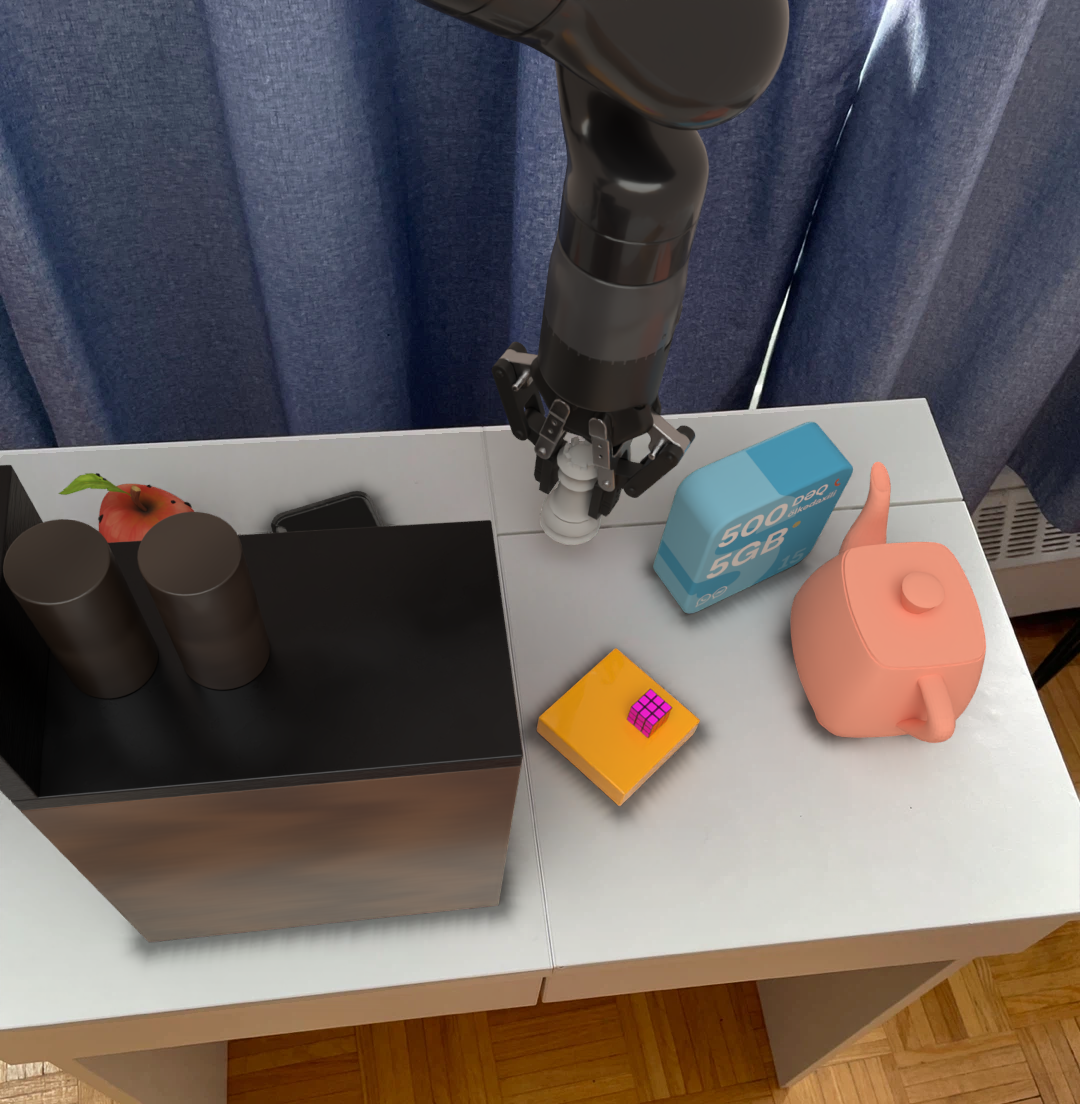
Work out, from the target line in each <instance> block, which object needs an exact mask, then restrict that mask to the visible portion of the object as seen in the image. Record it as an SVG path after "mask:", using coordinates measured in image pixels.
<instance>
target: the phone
mask: <svg viewBox="0 0 1080 1104" xmlns="http://www.w3.org/2000/svg"><path fill="white" fill-rule="evenodd" d="M270 523H271V524H270V526H271V531H272V532H271V533H279V532H296V531H313V530H329V529H346V528H363V527H380V526H385V525H384V523H383V521H382V518H381V516H380V514H379V512H378V510H377V508H376V505H375V504H374V501H373V500H372V498H371V495H369V494H367V493H366V492H364V491H362V490H352V491H349V492H345V493H341V494H339V495H336V496H333V497H329V498H326V499H322V500H319V501H315V502H312V503H309V504H305V505H301V506H299V507H295V508H292V509H289V510H285V511H281V512H280V513H277V514H276V515H275V516H274V517H273V518H272V520H271V522H270Z"/></svg>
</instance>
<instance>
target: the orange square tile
mask: <svg viewBox="0 0 1080 1104" xmlns="http://www.w3.org/2000/svg"><path fill="white" fill-rule="evenodd" d="M700 722H701V720H700V719H699V718H698V716H696V715H695V714H693V712H692V711H690V710H689V709H688V708H687V707H686V706H685V705H683V704H682V703H681V702H680V701H678V699H677V698H675V697H674V696H673V695H671V693H670V692H668V691H667V690H666V689H664V687H662V686H661V685H660V684H659V683H658V682H657V681H655V679H653V678H652V677H651V676H649V675H648V674H647V673H646V672H645V671H644V670H643V669H641V668H640V667H639V666H638V665H637V664H636V663H635V662H633V661H632V660H631V659H630V658H629V657H628V656H626V655H625V654H624V653H623V652H621V650H619V649H618V648H616V647H615V648H614V649H612V651H610V652H609V653H608V654H607V655H606V656H605V657H604V658H603V659H601V660H600V661H599V662H598V663H597V664H596V665H595V666H594V667H592V668H591V669H590V670H589V671H588V672H587V673H586V674H584V675H583V677H582V678H580V679H579V680H578V681H577V682H576V683H574V685H572V687H570V688H569V689H568V690H566V692H565V693H563V694H562V696H561V697H560V698H558V699H557V700H556V701H555V702H553V704H551V705H550V707H548V708H547V709H546V710H544V712H542V714H540V715H539V716H538V720H537V725H536V733H538V734H539V735H540V736H541V737H542V738H543V739H544V740H546V741H547V742H548V743H549V744H550V745H551V746H552V747H553V748H554V749H555V750H556V751H557V752H558V753H559V754H560V755H562V756H563V757H564V758H566V760H568V761H569V762H570V763H571V764H572V765H573V766H574V767H575V768H577V769H578V770H579V772H580V773H582V774H583V775H584V776H585V777H586V778H587V779H588V780H589V781H591V782H592V783H593V784H594V785H595V786H596V787H597V788H598V789H600V790H601V791H602V792H603V793H604V794H605V795H606V796H607V797H608V798H609V799H610V800H612V801H613V802H614V804H616V805H617V806H619V807H621V806H622V805H623V804H624V803H626V801H627V800H628V799H629V798H631V796H633V794H634V793H636V791H637V790H639V788H641V787H642V786H643V785H644V784H645V783H646V781H648V779H650V778H651V776H653V775H654V774H655V773H656V772H657V771H658V770H659V769H660V768H661V767H662V766H663V765H664V764H665V763H666V762H667V761H668V760H669V759H670V758H671V757H672V756H673V755H674V754H675V753H676V752H677V751H678V750H680V748H681V747H682V746H683V745H684V744H685V743H686V742H687V741H688V740H690V738H691V737H692V736H694V734H695V732H696V730H697V728H698V726H699V725H700Z"/></svg>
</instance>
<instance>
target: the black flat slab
mask: <svg viewBox="0 0 1080 1104" xmlns="http://www.w3.org/2000/svg"><path fill="white" fill-rule="evenodd" d="M43 522H44V521H43V519H42V517H41V516H40V514H39V512H38V510H37V509H36V507H35V504H34V503H33V501H32V499H31V497H30V496H29V494H28V492H27V490H26V488H25V487H24V485H23V483H22V482H21V480H20V478H19V476H18V473H16V470H15V469H14V467H13V465H12V464H0V792H1V793H2V795H4V796H5V797H6V798H7V799H8V801H10V803H12V804H13V806H15V807H16V809H17V810H19V811H20V810H32V809H43V808H55V807H66V806H77V805H88V804H100V803H111V802H122V801H133V800H145V799H156V798H167V797H178V796H190V795H201V794H212V793H223V792H235V791H246V790H257V789H268V788H280V787H291V786H302V785H313V784H325V783H336V782H347V781H358V780H370V779H381V778H392V777H403V776H414V775H426V774H437V773H448V772H459V771H471V770H482V769H493V768H504V767H516V766H521V767H522V764H523V757H524V751H523V745H522V738H521V729H520V723H519V722H520V721H519V715H518V714H519V713H518V707H517V700H516V699H517V698H516V693H515V691H516V690H515V686H514V677H513V671H512V670H513V669H512V662H511V656H510V648H509V640H508V633H507V625H506V617H505V610H504V603H503V596H502V589H501V581H500V574H499V565H498V558H497V551H496V544H495V535H494V530H493V529H494V528H493V521H492V520H491V519H483V520H481V519H480V520H465V521H449V522H433V523H432V522H431V523H416V524H415V523H414V524H399V525H398V524H397V525H384V526H380V527H363V528H346V529H329V530H313V531H296V532H279V533H273V532H264V533H249V534H238V537H239V539H240V542H241V545H242V549H243V552H244V556H245V559H246V563H247V566H248V570H249V573H250V576H251V580H252V583H253V587H254V590H255V594H256V597H257V601H258V604H259V608H260V611H261V615H262V618H263V621H264V625H265V628H266V632H267V635H268V639H269V642H270V654H269V659H268V661H267V664H266V666H265V667H264V669H263V670H262V672H261V673H260V674H259V675H258V676H257V677H256V678H255V679H253V680H252V681H250V682H249V683H247V684H245V685H243V686H240V687H237V688H233V689H227V690H218V689H211V688H208V687H205V686H202V685H200V684H198V683H197V682H195V681H194V680H193V679H192V678H190V676H189V675H188V674H187V673H186V671H185V669H184V667H183V665H182V663H181V661H180V659H179V656H178V654H177V652H176V650H175V647H174V645H173V643H172V641H171V639H170V636H169V634H168V632H167V630H166V628H165V625H164V623H163V621H162V619H161V616H160V614H159V612H158V610H157V608H156V605H155V603H154V601H153V599H152V597H151V594H150V592H149V590H148V588H147V585H146V583H145V581H144V579H143V577H142V574H141V572H140V570H139V566H138V560H137V556H138V549H139V546H140V543H141V541H128V542H111V543H108V544H109V547H110V549H111V551H112V553H113V555H114V557H115V559H116V561H117V563H118V565H119V567H120V570H121V572H122V574H123V576H124V578H125V580H126V582H127V584H128V586H129V588H130V590H131V592H132V595H133V597H134V599H135V601H136V603H137V605H138V607H139V609H140V611H141V613H142V615H143V618H144V620H145V622H146V624H147V626H148V628H149V630H150V632H151V634H152V636H153V638H154V640H155V643H156V645H157V649H158V661H157V665H156V668H155V670H154V672H153V674H152V676H151V677H150V678H149V680H148V681H147V682H146V683H145V684H144V685H143V686H141V687H140V688H139V689H137V690H136V691H134V692H132V693H130V694H128V695H125V696H122V697H118V698H106V699H105V698H97V697H93V696H90V695H87V694H85V693H83V692H82V691H80V690H79V689H78V688H77V687H76V686H75V685H74V684H73V683H72V682H71V680H70V679H69V677H68V676H67V674H66V673H65V671H64V670H63V668H62V667H61V665H60V664H59V662H58V661H57V659H56V658H55V656H54V655H53V653H52V651H51V650H50V648H49V647H48V645H47V644H46V642H45V641H44V639H43V638H42V636H41V635H40V633H39V632H38V630H37V629H36V627H35V626H34V624H33V623H32V621H31V620H30V618H29V617H28V615H27V614H26V612H25V611H24V609H23V608H22V606H21V605H20V603H19V602H18V600H17V599H16V597H15V596H14V594H13V593H12V591H11V590H10V588H9V586H8V585H7V583H6V580H5V578H4V572H3V564H4V559H5V556H6V553H7V551H8V549H9V547H10V546H11V544H12V543H13V542H14V541H15V539H16V538H17V537H18V536H20V535H21V534H22V533H23V532H25V531H26V530H28V529H29V528H31V527H33V526H35V525H37V524H40V523H43Z"/></svg>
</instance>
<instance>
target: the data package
mask: <svg viewBox="0 0 1080 1104" xmlns="http://www.w3.org/2000/svg"><path fill="white" fill-rule="evenodd" d="M853 472H854V466H853V465H852V463H851V462H850V461H849V460H848V459H847V458H846V457H845V455H844V454H843V453H842V452H841V450H840V449H839V448H838V447H837V445H836V444H835V442H833V441H832V440H831V439H830V436H828V435H827V433H826V432H825V431H824V430H823V428H822V427H820V425H819V424H818V423H817V422H815V421H806V422H803V423H800V424H798V425H796V426H794V427H791V428H789V429H786V430H785V431H782V432H780V433H777V434H774V435H773V436H770V437H768V438H766V439H763V440H761V441H759V442H757V443H754V444H753V445H750V446H748V447H745V448H743V449H740V450H738V451H736V452H734V453H732V454H729V455H727V456H724V457H722V458H720V459H717V460H715V461H713V462H711V463H709V464H706V465H704V466H701V467H699V468H697V469H696V470H693V471H692V472H691V473H689V474H688V475H686V477H685V478H684V479H683V480H682V481H681V482H680V484H679V485H678V486H677V488H676V490H675V494H674V496H673V500H672V503H671V505H670V506H671V507H670V509H669V513H668V516H667V520H666V523H665V526H664V529H663V532H662V535H661V539H660V541H659V546H658V548H657V552H656V555H655V558H654V561H653V571H654V572H655V573H656V575H657V576H658V578H659V579H660V580H661V582H662V583H663V584H664V585H665V588H666V589H667V590H668V592H669V593H670V594H671V596H672V598H673V599H674V600H675V602H676V603H677V605H678V606H679V607H680V608H681V610H682V611H683V612H684V613H685V614H695V613H698V612H700V611H702V610H704V609H706V608H708V607H710V606H712V605H715V604H717V603H719V602H721V601H723V600H725V599H727V598H730V597H731V596H733V595H736V594H737V593H740V592H741V591H744V590H746V589H748V588H750V587H752V586H755V585H756V584H758V583H761V582H763V581H765V580H767V579H769V578H771V577H773V576H776V575H777V574H779V573H782V572H784V571H786V570H787V569H790V568H792V567H794V566H795V565H797V564H799V563H800V562H801V561H803V560H804V559H806V557H807V556H808V555H809V554H810V553H811V552H812V551H813V549H814V547H815V545H816V544H817V541H818V539H819V537H820V536H821V533H822V532H823V531H824V528H825V526H826V524H827V523H828V521H829V519H830V517H831V515H832V513H833V511H834V509H835V508H836V506H837V504H838V502H839V500H840V498H841V496H842V495H843V492H844V491H845V489H846V487H847V485H848V483H849V481H850V480H851V477H852V475H853V474H854V473H853Z"/></svg>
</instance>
